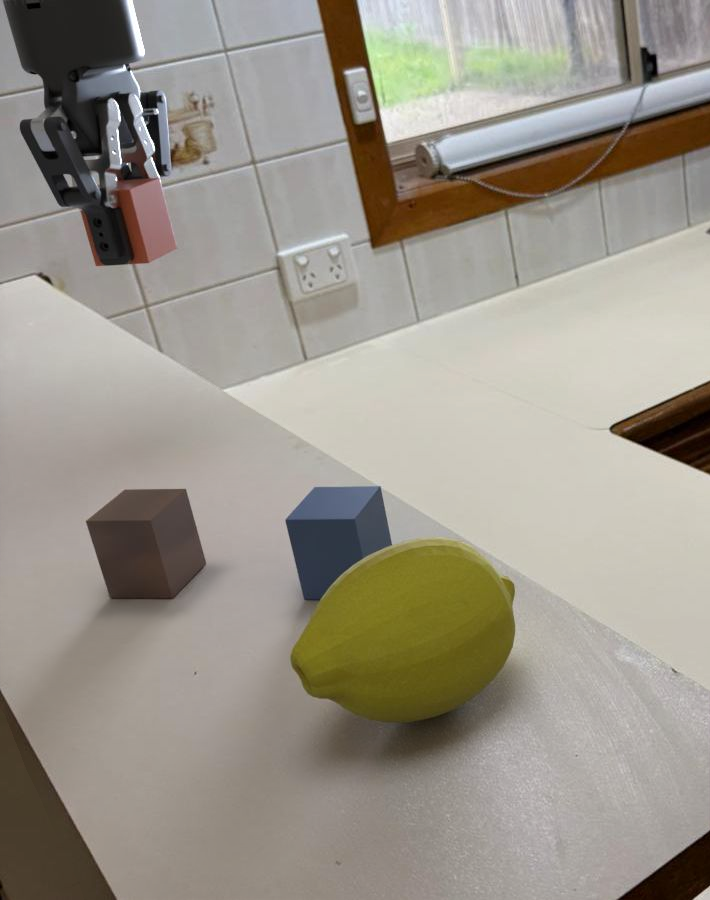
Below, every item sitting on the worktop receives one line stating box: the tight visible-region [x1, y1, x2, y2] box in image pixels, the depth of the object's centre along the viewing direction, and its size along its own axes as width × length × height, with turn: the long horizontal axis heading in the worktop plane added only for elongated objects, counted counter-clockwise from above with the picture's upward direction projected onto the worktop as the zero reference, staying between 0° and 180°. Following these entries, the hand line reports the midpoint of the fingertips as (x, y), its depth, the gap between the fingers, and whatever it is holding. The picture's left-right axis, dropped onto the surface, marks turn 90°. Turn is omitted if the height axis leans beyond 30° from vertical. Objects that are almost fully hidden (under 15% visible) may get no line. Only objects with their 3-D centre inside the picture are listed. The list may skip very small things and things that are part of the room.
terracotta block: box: [79, 178, 178, 267], centre depth 78 cm, size 4×4×5 cm
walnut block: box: [85, 488, 207, 599], centre depth 66 cm, size 4×4×5 cm
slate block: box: [284, 485, 393, 601], centre depth 63 cm, size 4×4×5 cm
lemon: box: [289, 536, 516, 724], centre depth 51 cm, size 11×8×8 cm
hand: (135, 253), depth 79 cm, fingers closed on terracotta block, 4 cm apart
